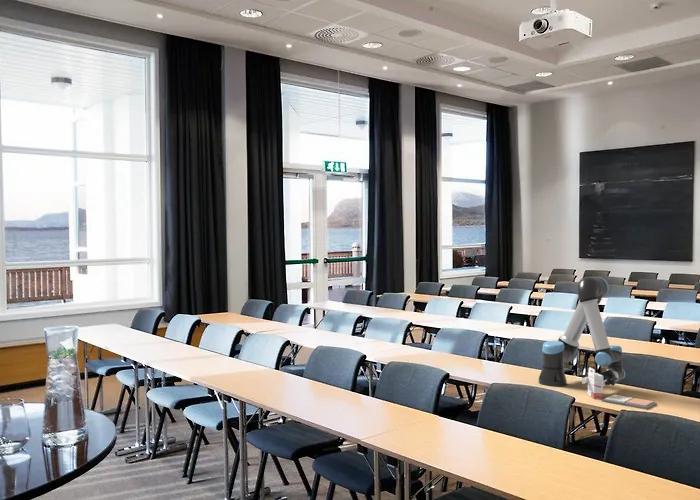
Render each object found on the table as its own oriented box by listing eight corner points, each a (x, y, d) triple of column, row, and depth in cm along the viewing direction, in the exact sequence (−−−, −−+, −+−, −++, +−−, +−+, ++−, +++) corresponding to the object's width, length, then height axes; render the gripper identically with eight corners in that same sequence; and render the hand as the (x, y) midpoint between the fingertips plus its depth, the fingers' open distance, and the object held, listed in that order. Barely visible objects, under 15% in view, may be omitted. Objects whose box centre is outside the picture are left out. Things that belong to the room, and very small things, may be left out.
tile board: (602, 401, 309) (602, 398, 309) (613, 397, 320) (613, 393, 320) (646, 409, 295) (646, 406, 295) (656, 404, 306) (656, 401, 306)
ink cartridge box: (603, 399, 315) (604, 370, 315) (593, 398, 315) (594, 369, 315) (596, 395, 324) (597, 367, 324) (587, 395, 324) (587, 366, 324)
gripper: (629, 387, 325) (613, 393, 309) (588, 380, 340) (571, 386, 323) (629, 372, 325) (613, 378, 309) (588, 367, 340) (571, 372, 323)
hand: (592, 382), depth 316 cm, fingers closed on ink cartridge box, 9 cm apart
